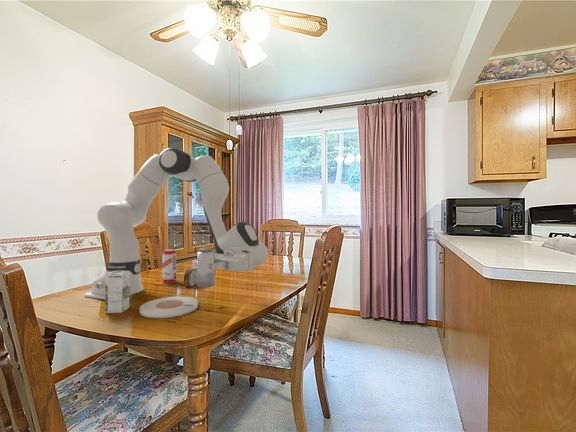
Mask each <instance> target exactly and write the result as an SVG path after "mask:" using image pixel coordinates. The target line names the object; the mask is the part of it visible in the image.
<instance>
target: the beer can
mask: <svg viewBox="0 0 576 432" xmlns="http://www.w3.org/2000/svg"><path fill="white" fill-rule="evenodd" d="M161 254H162V255H161V257H162V259H161V261H162V282H163V283H164V284H166V285H167V284H175V282H177V252H176V250H175V249H173V248H169V249H167V248H166V249H163V252H162V253H161Z"/></svg>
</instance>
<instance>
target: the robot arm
mask: <svg viewBox="0 0 576 432" xmlns="http://www.w3.org/2000/svg"><path fill="white" fill-rule="evenodd" d="M170 178H176V179H178V180H182V181H183V182H188V183H193V182H197V184H198V187H199V189H200V192H201V195H202V200H203V202H202V203H203V205H202V207H203V212H204V216H205V219H206V221H207V225H208V227H209V229H210V232H211V235H212V239H213V243H214V248H215V249H214V250H215V251H216V252H215V263H210V269H215V270H217V269H218V270H223V271H228V272H230V273H235V272H236V273H239V272H240V273H241V272H252V271H253V268H256V267H259V266H261V265H263V264H264V263H266V261H267V260H268V258H269V249H268V247H267V246H266V245H265V244H264V243H263V242H261V241H260V240H259V237H258V233H257V231H256V229H255V227H254V225H251V224H250V223H249V222H246V221H239V222H237V223H236V224H234V225H233V226H232V227H231V228H229V230H228V231H227V229H226V226H225V223H224V221H223V218H222V208H223V206H224V203H225V202H226V200H227V197H228V196H229V191H230V185H229V181H228V179H227V177H226V176H225V174H224V172H223V170H222V169H221V167H220V166H219V165H218V163H217V162H216V160H215V159H214V158H213V157H212V156H210V155H207V154H205V155H204V154H203V155H200V156H198V157H194V156H192V155H191V154H190V153H187V152H185V151H183V150H181V149H180V148H176V147H168V148H165V149H164V150H163V151H161V153H160V154H156V153H155V154H154V155H153V156H151V157H150V158H148V160H146V162H145V163H144V164H143V165H142V167H141V168H140V169H139V170H138V172H137V173H136V174H135V175H134V176H133V178H132V179H131V181H130V182H129V184H128V185H127V193H126V196H125V198H124V200H122V201H112V202H110V203H109V202H108V203H105V204H104V205H102V206H100V207H99V209H98V210H97V214H96V215H97V216H96V217H97V220H98V222H99V224H100V225H101V226H102V227H103V228H104V230H105V234H106V236H107V239H108V246H109V262H107V263H105V264H104V265H103V267H106V269H105V271H104V272H102V273H101V274H100V275H98V276H97V277H96V278H95V279H93V280H92V283H91V290H90V291H87V292H85V293H84V297H86V298H90V299H91V298H92V299H98V300H99V299H100V300H105V275H106V274H108V273H110V272H113V271H119V270H123V271H130V296H132V295H134V294H136V293H139V292H142V291H143V290H144V287H143V283H142V277H141V266H142V265H141V263H142V262H141V259H140V241H139V240H138V238H137V237H136V234H135V232H134V231H135V230H134V228H136V227H138V226H139V225H141V224H143V223H145V221H146V219H147V218H148V217H147V215H148V212H149V209H150V206H151V205H152V202H153V200H155V198H156V197H157V195H158V194H159V192H160V191H161V190H162V188H163V187H164V185H165V184H166V183H167V181H168V180H169V179H170ZM195 266H197V260H196V261H195Z"/></svg>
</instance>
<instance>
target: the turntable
mask: <svg viewBox="0 0 576 432" xmlns="http://www.w3.org/2000/svg"><path fill="white" fill-rule="evenodd" d="M198 306H199V300H197V298H194V297H192V296H191V297H189V296H166V297H160V298H157V299H156V298H155V299H153V300H150V301H146V302H145V303H143V304H142V305H140V306H139V315H140V316H142V317H144V318H147V319H168V318H169V319H170V318H176V317H180V316H181V317H182V316H185V315H187V314H190V313H192V312H194V311H195V310H197V309H198Z"/></svg>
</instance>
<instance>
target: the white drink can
mask: <svg viewBox="0 0 576 432" xmlns="http://www.w3.org/2000/svg"><path fill="white" fill-rule="evenodd" d="M215 251H216V250H213V248H212V247H200V248H199V250H198V251H197V252H196V261H197V284H196V285H197V287H199V288H205V289H206V288H212V287H215V285H216V277H215V276H216V269H210V263H215V253H216V252H215Z"/></svg>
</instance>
